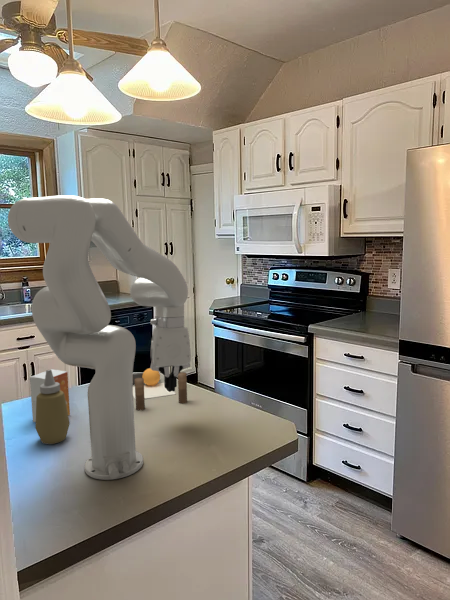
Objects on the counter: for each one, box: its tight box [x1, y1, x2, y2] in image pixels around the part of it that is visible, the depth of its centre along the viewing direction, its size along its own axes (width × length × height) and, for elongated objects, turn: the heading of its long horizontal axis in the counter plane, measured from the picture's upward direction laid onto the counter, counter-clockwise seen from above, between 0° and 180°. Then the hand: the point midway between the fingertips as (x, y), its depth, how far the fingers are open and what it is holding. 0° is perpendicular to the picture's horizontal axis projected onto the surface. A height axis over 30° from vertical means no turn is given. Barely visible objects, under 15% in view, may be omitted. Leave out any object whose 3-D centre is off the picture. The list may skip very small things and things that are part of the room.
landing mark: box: [133, 382, 176, 401], centre depth 151 cm, size 13×13×1 cm
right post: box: [177, 371, 188, 404], centre depth 140 cm, size 3×3×9 cm
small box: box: [29, 368, 71, 423], centre depth 129 cm, size 8×6×13 cm
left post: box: [134, 378, 146, 411], centre depth 135 cm, size 3×3×9 cm
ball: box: [142, 367, 161, 386], centre depth 157 cm, size 6×6×6 cm
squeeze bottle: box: [35, 369, 71, 445], centre depth 115 cm, size 8×8×18 cm
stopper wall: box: [133, 371, 160, 386], centre depth 160 cm, size 2×10×4 cm, turn 112°
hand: (170, 390), depth 124 cm, fingers closed
